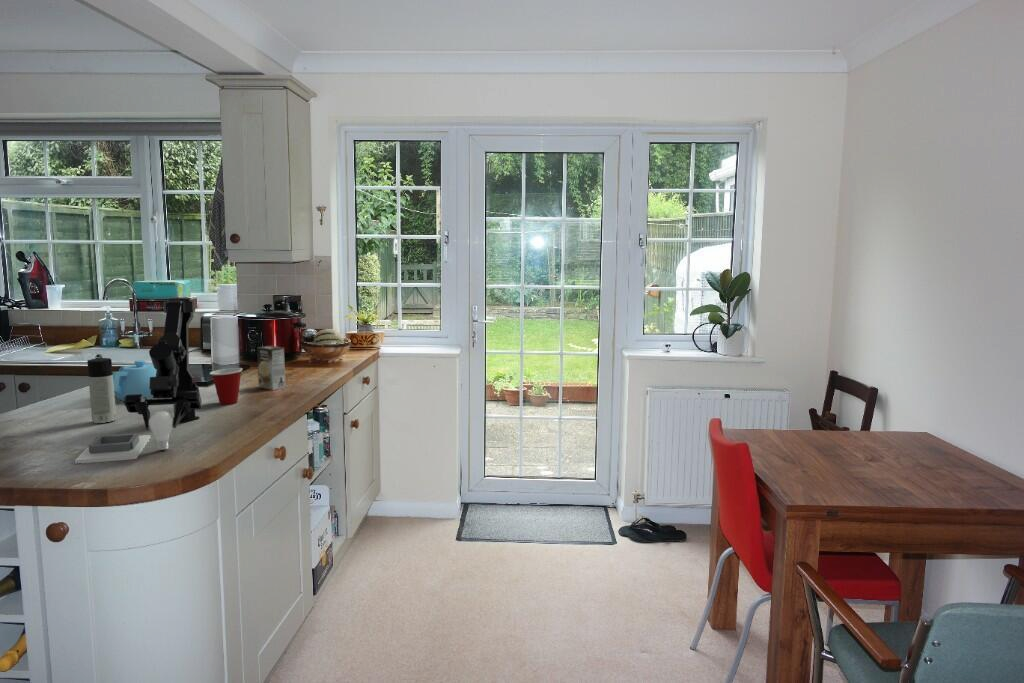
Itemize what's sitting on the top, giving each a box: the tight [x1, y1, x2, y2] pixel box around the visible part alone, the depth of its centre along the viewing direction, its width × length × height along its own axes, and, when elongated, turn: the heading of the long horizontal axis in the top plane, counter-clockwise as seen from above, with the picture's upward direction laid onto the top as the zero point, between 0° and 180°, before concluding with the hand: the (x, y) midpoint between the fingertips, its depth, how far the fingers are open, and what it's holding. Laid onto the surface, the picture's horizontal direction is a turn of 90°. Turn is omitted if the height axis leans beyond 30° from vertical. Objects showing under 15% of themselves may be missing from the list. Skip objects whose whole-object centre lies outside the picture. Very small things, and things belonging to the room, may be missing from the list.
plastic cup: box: [209, 367, 243, 406], centre depth 241 cm, size 11×11×12 cm
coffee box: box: [256, 345, 286, 391], centre depth 267 cm, size 9×6×16 cm
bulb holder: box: [74, 432, 152, 465], centre depth 186 cm, size 20×14×3 cm
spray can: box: [86, 357, 117, 424], centre depth 214 cm, size 7×7×20 cm
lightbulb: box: [148, 410, 174, 451], centre depth 186 cm, size 6×6×11 cm
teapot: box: [113, 359, 156, 402], centre depth 249 cm, size 19×19×14 cm
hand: (160, 428), depth 184 cm, fingers closed on lightbulb, 6 cm apart
